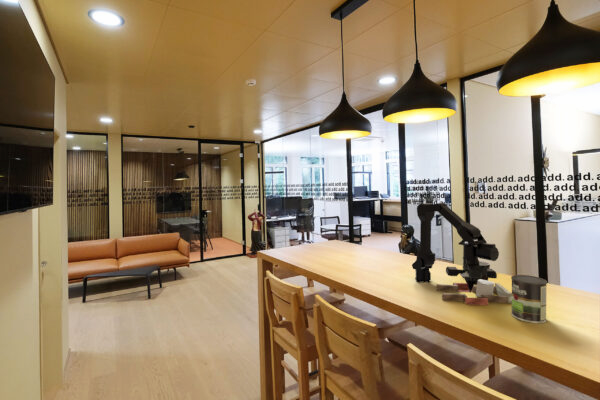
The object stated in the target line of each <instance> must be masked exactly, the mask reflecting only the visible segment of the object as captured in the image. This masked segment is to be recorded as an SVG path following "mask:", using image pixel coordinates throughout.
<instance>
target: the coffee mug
mask: <svg viewBox="0 0 600 400" xmlns="http://www.w3.org/2000/svg"><path fill="white" fill-rule="evenodd" d="M479 265H480V266H487V269H491V268H490V267H491V263H489V262H487V261H482V260H479ZM481 279H482V280H487V281H489V278H488V277H487V276H486V275H482V278H481ZM477 281H478V280H477ZM477 281H476V282H475V284H474V286H477Z"/></svg>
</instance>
